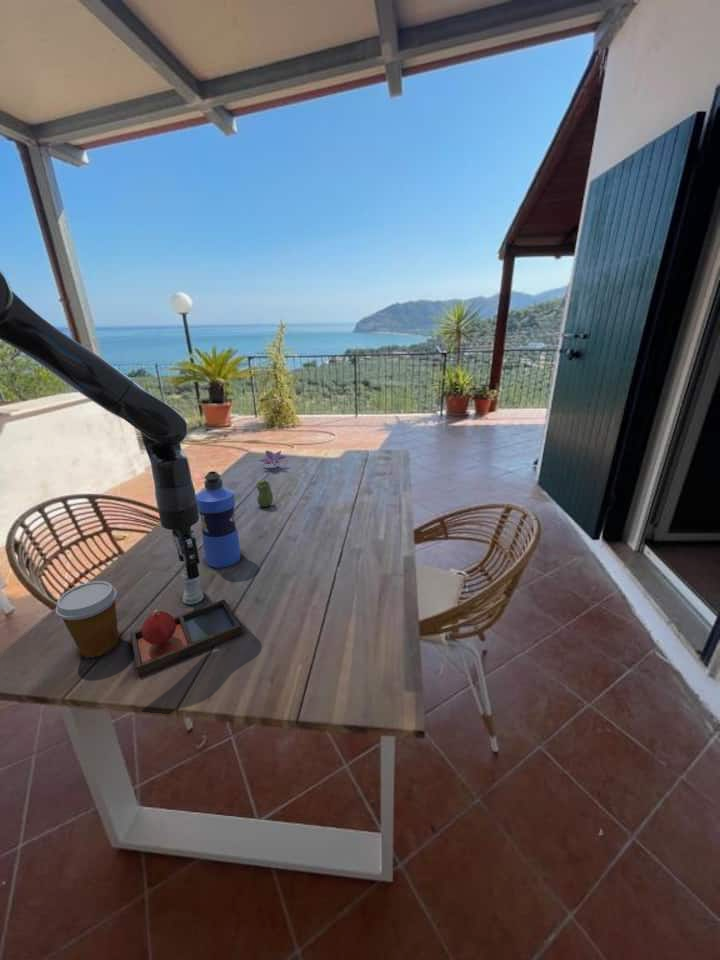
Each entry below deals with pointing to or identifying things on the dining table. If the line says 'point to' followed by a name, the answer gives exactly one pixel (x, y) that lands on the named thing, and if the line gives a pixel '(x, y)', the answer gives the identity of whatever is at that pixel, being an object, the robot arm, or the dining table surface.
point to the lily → (272, 457)
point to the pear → (264, 493)
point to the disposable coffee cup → (90, 617)
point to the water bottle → (218, 523)
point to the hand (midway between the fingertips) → (189, 568)
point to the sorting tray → (187, 636)
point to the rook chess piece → (191, 590)
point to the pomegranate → (158, 628)
